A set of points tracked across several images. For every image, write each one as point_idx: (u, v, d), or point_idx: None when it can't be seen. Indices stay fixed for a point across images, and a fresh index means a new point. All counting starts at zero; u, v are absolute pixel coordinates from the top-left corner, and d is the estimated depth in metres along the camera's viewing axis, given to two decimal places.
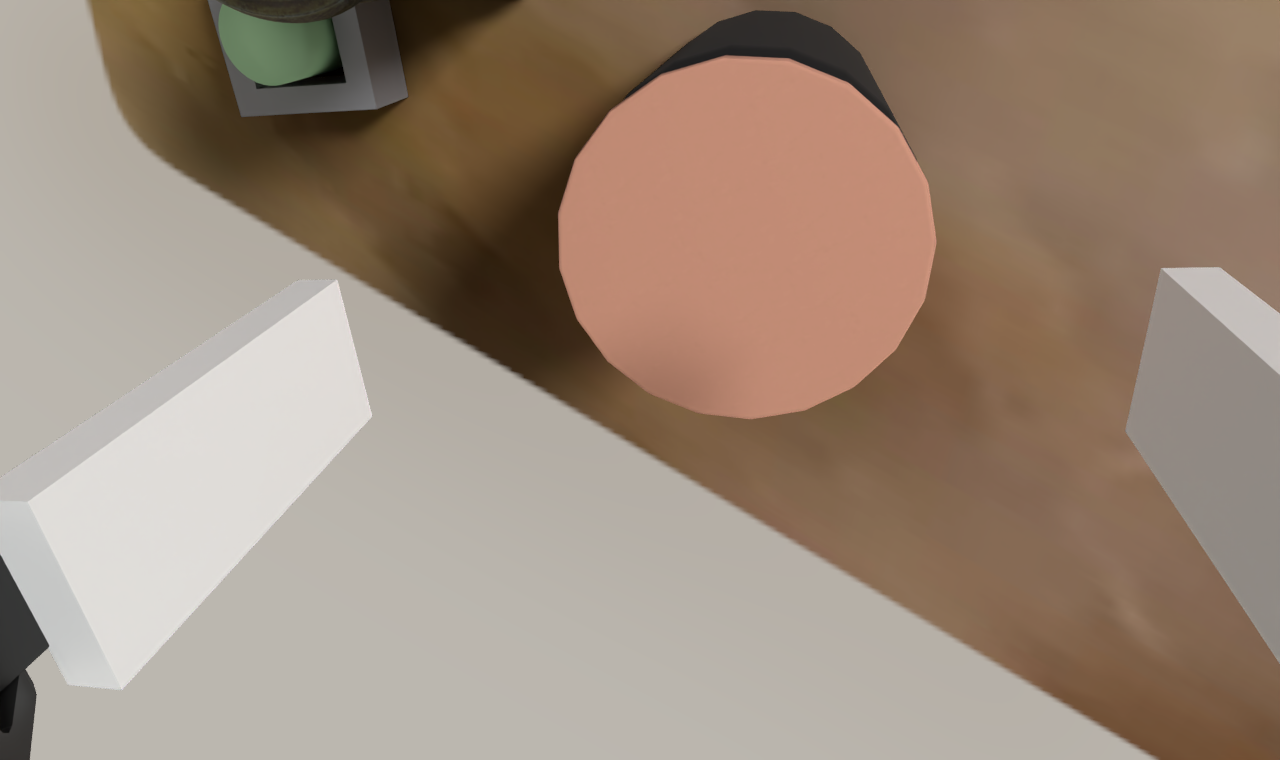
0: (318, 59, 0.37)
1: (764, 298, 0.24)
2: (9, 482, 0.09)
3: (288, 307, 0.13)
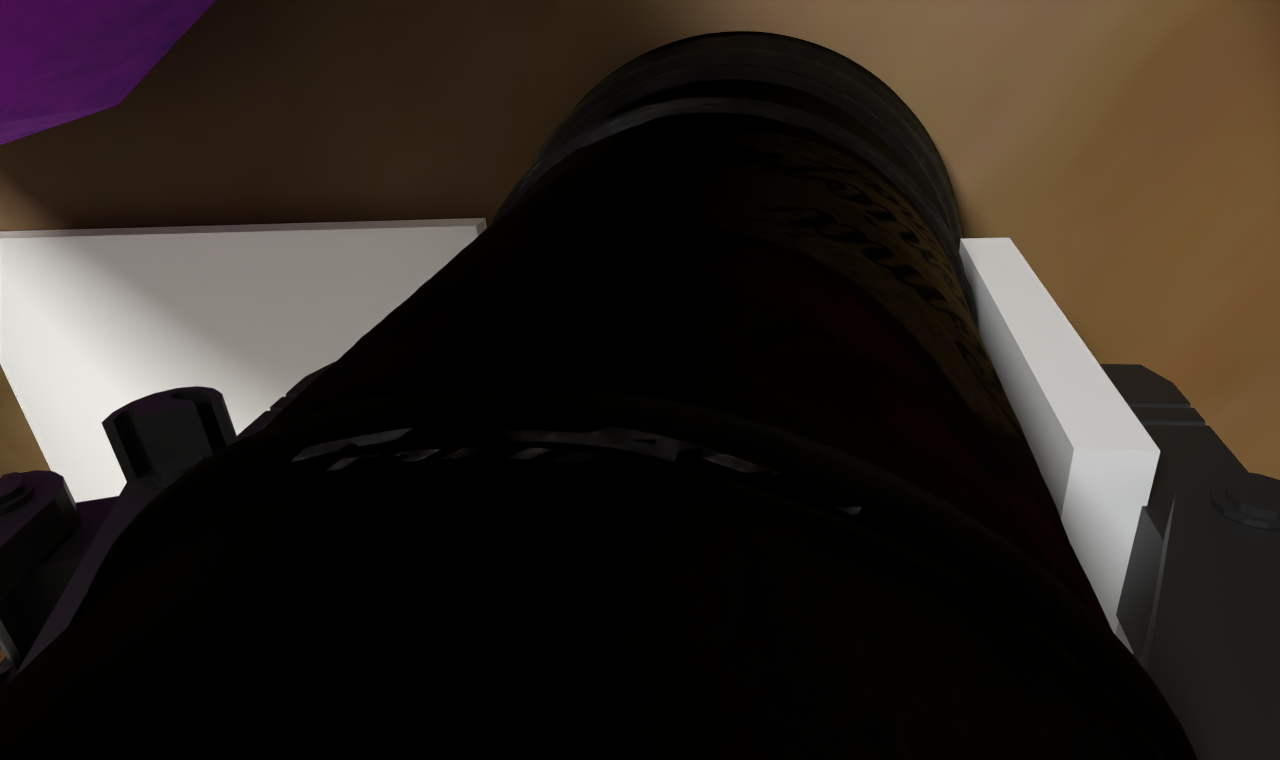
0: None
1: None
2: None
3: None
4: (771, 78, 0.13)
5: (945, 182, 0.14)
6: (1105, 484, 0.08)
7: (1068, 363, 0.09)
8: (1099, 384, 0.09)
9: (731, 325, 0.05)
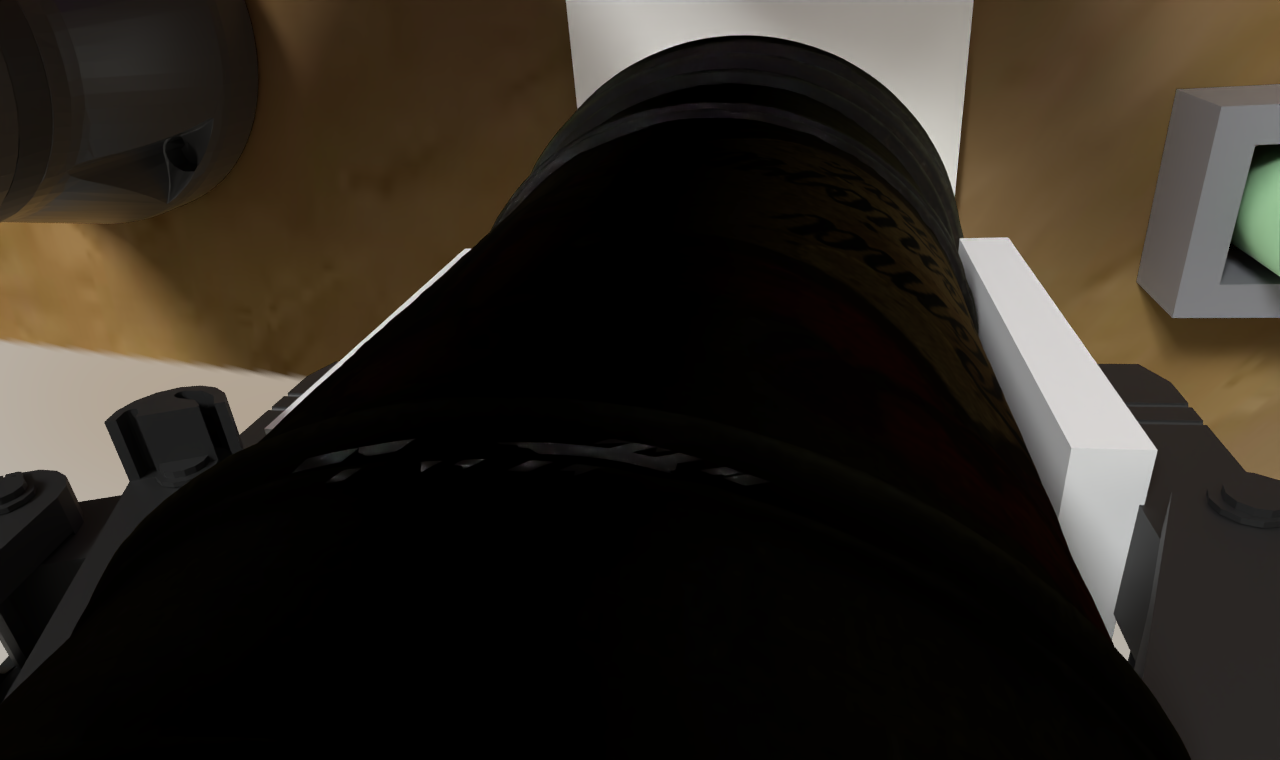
0: None
1: None
2: None
3: None
4: (772, 82, 0.13)
5: (946, 186, 0.14)
6: (1102, 483, 0.08)
7: (1065, 363, 0.09)
8: (1096, 384, 0.09)
9: (732, 336, 0.05)
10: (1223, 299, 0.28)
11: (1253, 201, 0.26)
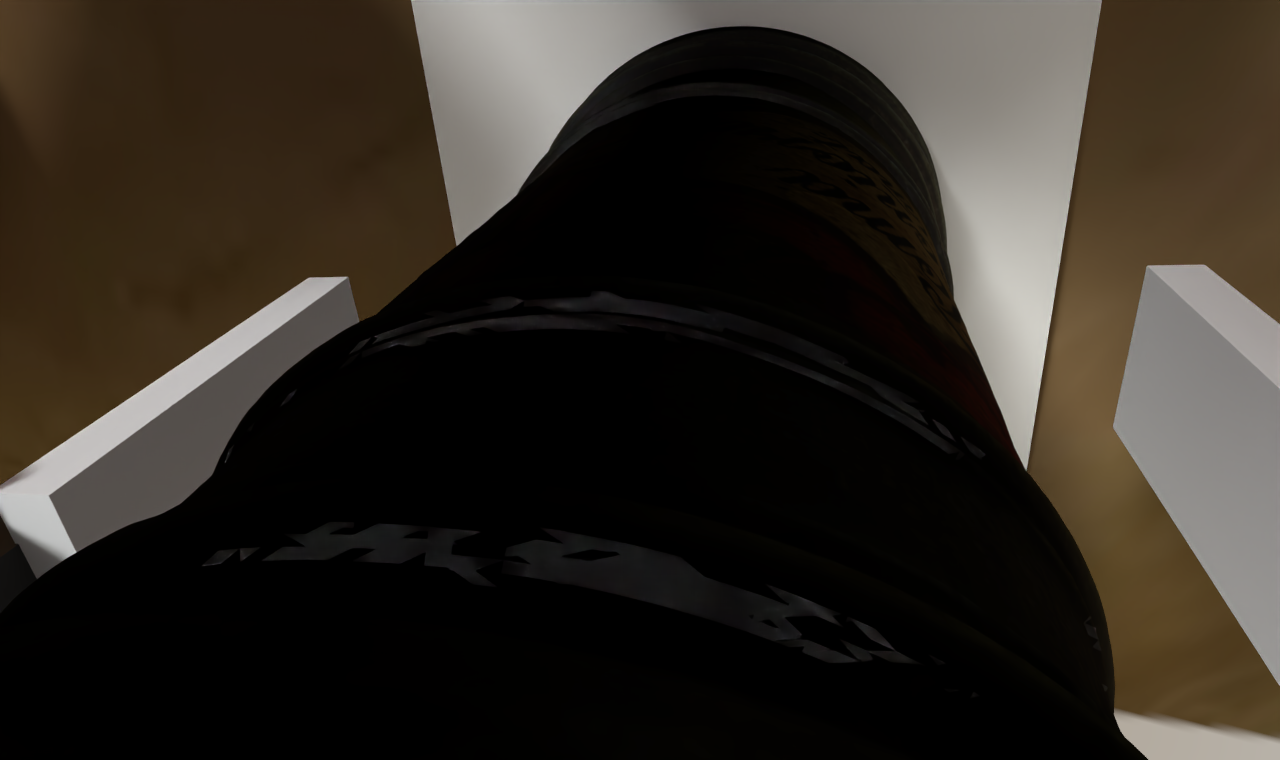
0: None
1: None
2: (29, 476, 0.09)
3: (301, 304, 0.13)
4: (768, 67, 0.15)
5: (927, 162, 0.15)
6: None
7: None
8: None
9: (729, 245, 0.07)
10: None
11: None
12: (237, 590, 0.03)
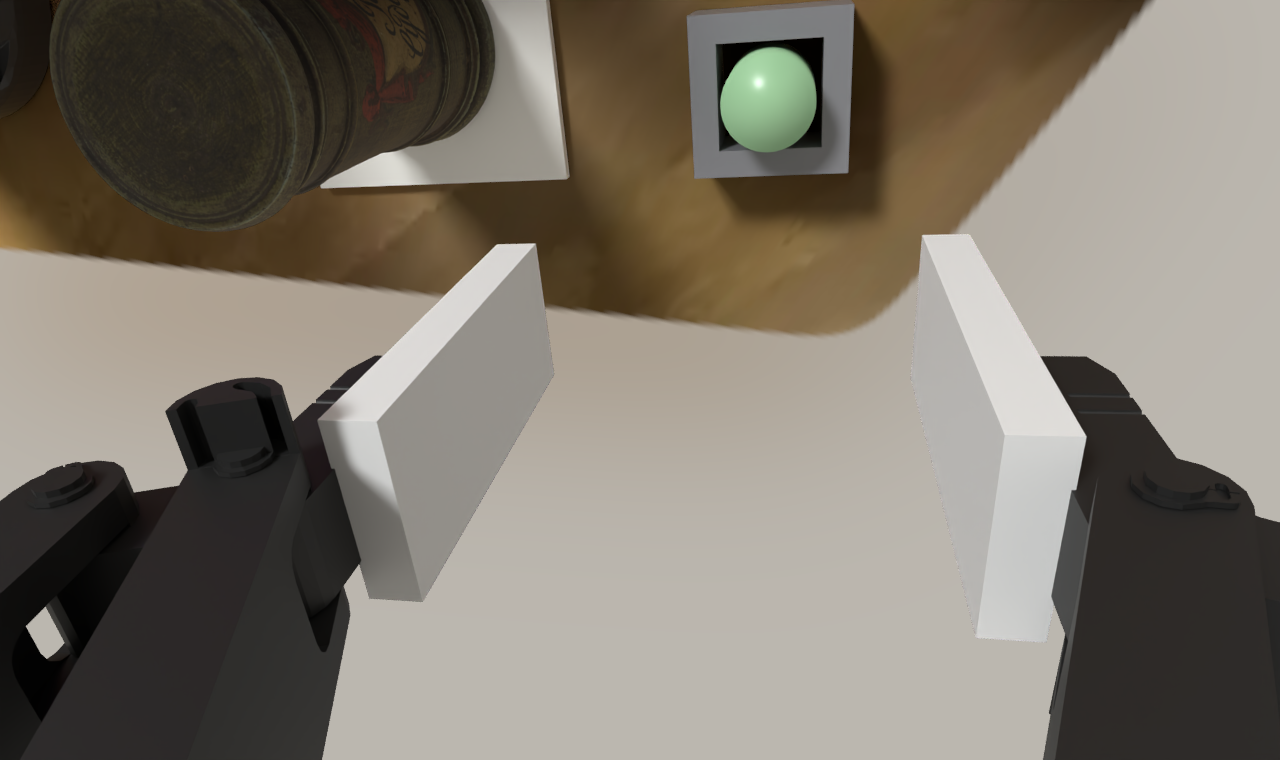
0: (797, 57, 0.35)
1: None
2: (347, 407, 0.10)
3: (505, 266, 0.14)
4: None
5: None
6: (1036, 469, 0.08)
7: (1010, 354, 0.10)
8: (1037, 374, 0.09)
9: None
10: (725, 163, 0.38)
11: None
12: None
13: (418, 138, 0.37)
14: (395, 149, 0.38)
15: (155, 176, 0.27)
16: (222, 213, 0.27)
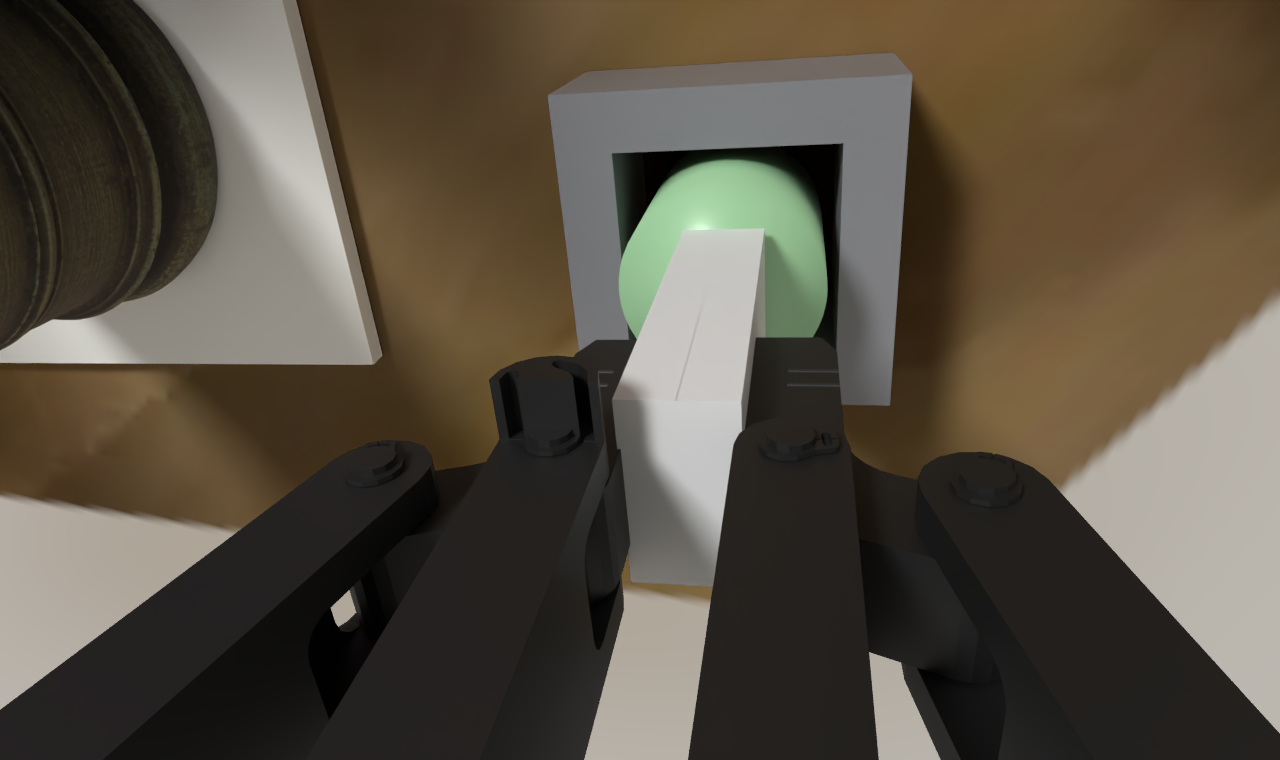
0: (784, 188, 0.16)
1: None
2: (633, 387, 0.10)
3: (707, 251, 0.14)
4: None
5: (92, 44, 0.18)
6: (705, 431, 0.10)
7: (725, 333, 0.11)
8: (736, 350, 0.10)
9: None
10: None
11: None
12: None
13: (15, 336, 0.18)
14: None
15: None
16: None
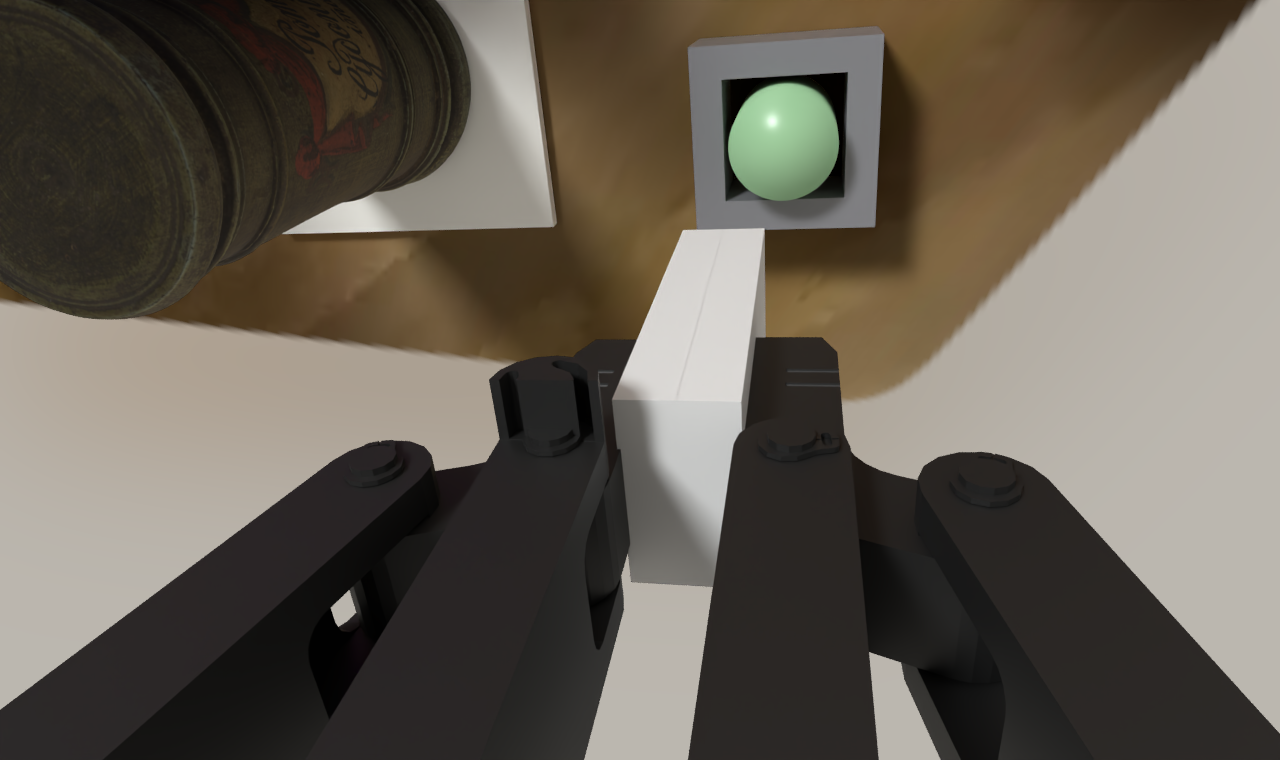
0: (816, 93, 0.30)
1: None
2: (634, 386, 0.10)
3: (707, 251, 0.14)
4: None
5: (426, 22, 0.32)
6: (706, 431, 0.09)
7: (725, 333, 0.11)
8: (736, 350, 0.10)
9: None
10: (732, 214, 0.33)
11: None
12: None
13: (379, 187, 0.33)
14: (353, 199, 0.33)
15: (32, 255, 0.22)
16: (114, 300, 0.22)
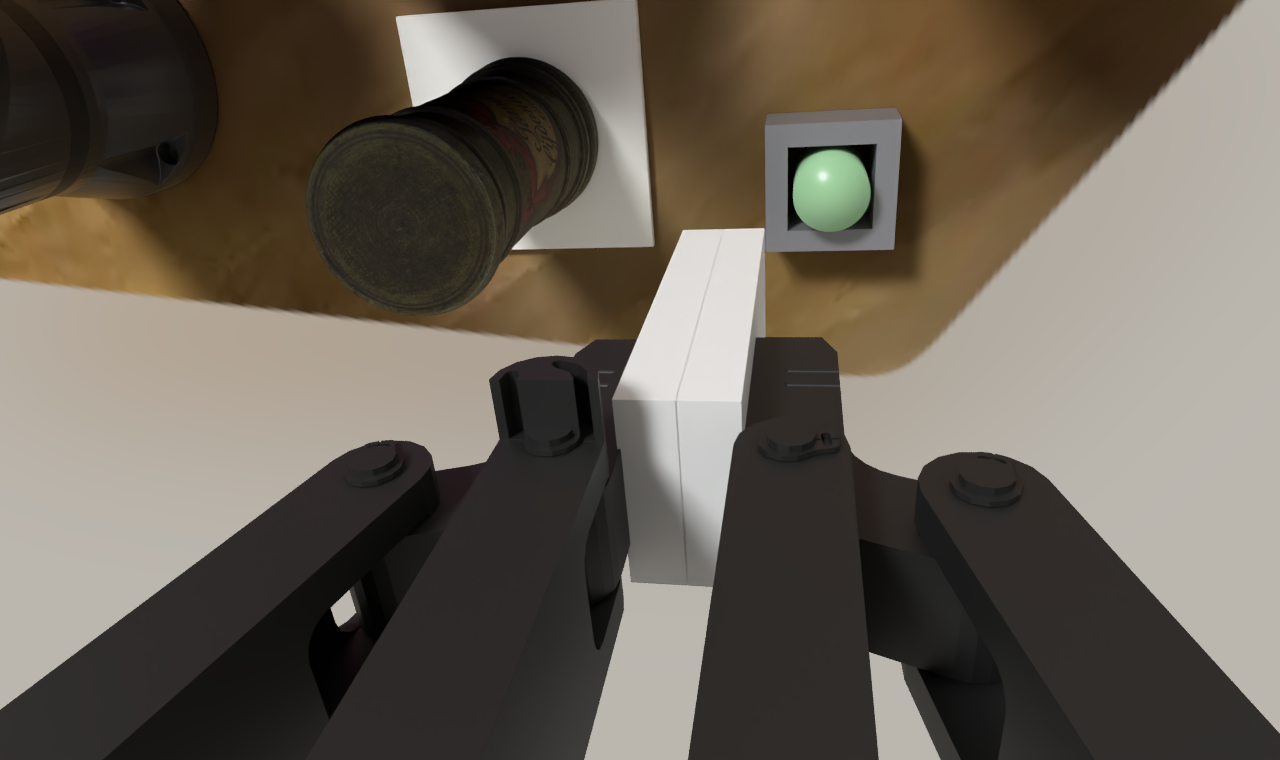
0: (854, 157, 0.44)
1: None
2: (634, 387, 0.10)
3: (707, 251, 0.14)
4: (517, 71, 0.45)
5: (575, 103, 0.45)
6: (705, 431, 0.09)
7: (725, 333, 0.11)
8: (736, 350, 0.10)
9: (455, 105, 0.37)
10: (791, 240, 0.46)
11: (794, 177, 0.45)
12: None
13: (541, 221, 0.46)
14: None
15: (379, 275, 0.35)
16: (429, 303, 0.35)
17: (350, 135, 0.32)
